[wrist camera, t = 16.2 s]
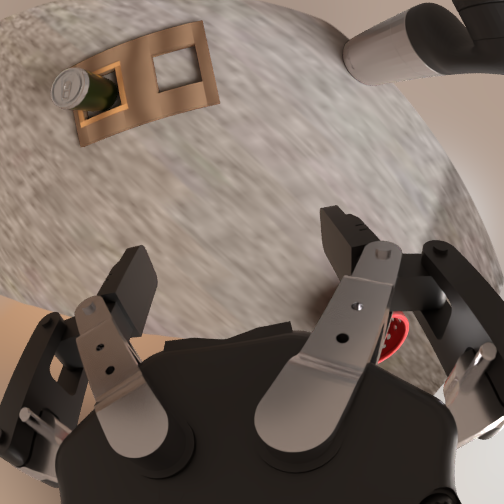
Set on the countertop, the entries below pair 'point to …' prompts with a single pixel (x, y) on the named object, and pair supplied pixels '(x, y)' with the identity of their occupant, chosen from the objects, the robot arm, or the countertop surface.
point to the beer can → (83, 91)
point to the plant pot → (395, 335)
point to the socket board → (147, 82)
